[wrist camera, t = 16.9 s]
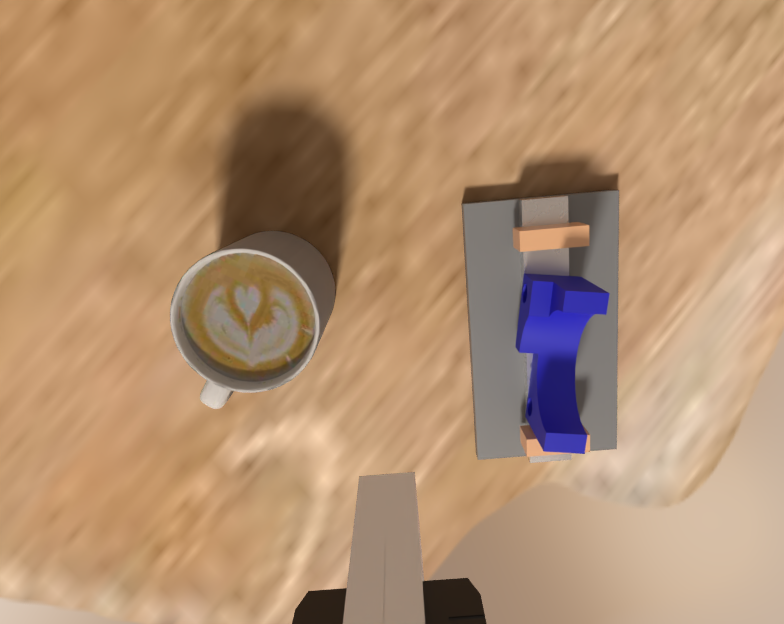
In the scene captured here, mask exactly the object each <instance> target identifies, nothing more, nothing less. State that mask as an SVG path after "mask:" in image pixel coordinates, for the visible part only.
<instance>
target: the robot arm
mask: <svg viewBox="0 0 784 624" xmlns="http://www.w3.org/2000/svg"><path fill="white" fill-rule="evenodd" d="M292 624H486V619H485V614H484V610H483V604H482V600H481V595H480V593H479V592H478V591H477V589H476V588H475V587H474V586H473V585H472V583H471V582H470V580H469V579H468V578H460V579H446V580H433V581H424V576H423V562H422V550H421V539H420V528H419V516H418V505H417V494H416V482H415V472H408V473H395V474H382V475H370V476H359V484H358V493H357V502H356V511H355V520H354V528H353V537H352V546H351V555H350V564H349V573H348V582H347V588H345V589H331V590H318V591H308V593H307V594H306V595H305V597H304V598H303V600H302V601H301V602H300V604H299V605H298V607H297V608H296V609H295V613H294V618H293V622H292Z"/></svg>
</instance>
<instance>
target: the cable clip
mask: <svg viewBox="0 0 784 624" xmlns="http://www.w3.org/2000/svg"><path fill="white" fill-rule="evenodd" d="M609 294H610V293H608V292H607V291H605V290H603V289H602V288H600V287H598V286H596V285H595V284H593V283H591V282H590V281H588V280H586V279H584V278H583V277H578V276H560V275H543V274H526V273H524V277H523V285H522V294H521V302H520V311H519V319H518V328H517V336H516V345H515V347H516V349H517V350H518V352H519V353H533V359H532V367H531V375H530V383H529V391H528V398H527V406H526V414H525V417H526V419H527V421H528V423H529V425H530V427H531V428H532V430H533V432H534V434H535V436H536V438H537V440H538V442H539V444H540V446H541V447H542V449H543V451H544V452H561V453H580V454H585V448H586V442H587V433H586V432H585V430H584V428H583V425H582V423H581V420H580V416H579V413H578V408H577V402H576V392H575V367H576V358H577V351H578V346H579V342H580V338H581V335H582V332H583V330H584V328H585V326H586V324H587V322H588V321H589V319H590V318H591V317H592V316H593V315H595V314H603V315H606V314H607V307H608V301H609Z"/></svg>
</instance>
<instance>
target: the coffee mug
mask: <svg viewBox="0 0 784 624" xmlns="http://www.w3.org/2000/svg"><path fill="white" fill-rule="evenodd" d="M334 302H335V283H334V278H333V275H332V272H331V269H330V267H329V265H328V263H327V261H326V260H325V259H324V257H323V256H322V255H321V253H320V252H319V251H318V250H317V249H316V248H315V247H314V246H312V245H311V244H310V243H309V242H307V241H306V240H304V239H302V238H300V237H298V236H296V235H293V234H290V233H286V232H281V231H264V232H259V233H255V234H252V235H249V236H247V237H245V238H243V239H241V240H239V241H236V242H234V243H232V244H230V245H228V246H226V247H224V248H222V249H219V250H217V251H215V252H213V253H211V254H209V255H207V256H205V257H204V258H202V259H200V260H199V261H198V262H196V263H195V264H194V265H193V266H192V267H190V268H189V270H188V271H187V272H186V273H185V274H184V275H183V277H182V278H181V280H180V282H179V283H178V285H177V287H176V289H175V292H174V295H173V298H172V302H171V309H170V323H171V330H172V334H173V337H174V340H175V343H176V345H177V348H178V349H179V351H180V353H181V354H182V356H183V358H184V359H185V361H186V362H187V363H188V364H189V366H190V367H191V368H193V369H194V370H195V371H196V372H197V373H198V374H199V375H200V376H202V377H203V378H205V379H206V380H207V381H206V383H205V385H204V387H203V389H202V391H201V394H200V400H201V401H202V402H203V403H204V404H206V405H207V406H209V407H211V408H214V409H219V408H221V407H222V406H223V405H224V404H225V403H226V402H227V401H228V399H229V398H230V396H231V395H232V393H233V392H234V391H238V392H262V391H267V390H271V389H274V388H277V387H279V386H282V385H284V384H285V383H287V382H289V381H291V380H292V379H293V378H294V377H296V376H297V375H298V374H299V373H300V372H301V371H302V370H303V369H304V368H305V367H306V365H307V364H308V363H309V361H310V360H311V358H312V356H313V354H314V353H315V350H316V348H317V346H318V343H319V341H320V339H321V336H322V334H323V332H324V329H325V327H326V325H327V322H328V320H329V318H330V315H331V313H332V310H333V307H334Z"/></svg>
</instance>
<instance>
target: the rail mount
mask: <svg viewBox="0 0 784 624" xmlns="http://www.w3.org/2000/svg"><path fill="white" fill-rule="evenodd" d="M462 219H463V236H464V253H465V270H466V288H467V305H468V322H469V340H470V357H471V374H472V391H473V409H474V426H475V443H476V455H477V458H478V460H481V459H494V458H507V457H520V456H527V457H528V459H529V462H530V463H535V462H548V461H561V460H571V453H561V452H544V451H543V449H542V447H541V446H540V444H539V442H538V440H537V438H536V436H535V434H534V432H533V430H532V428H531V427H530V425H529V423H528V421H527V419H526V417H525V414H526V406H527V398H528V391H529V383H530V375H531V367H532V359H533V353H519V352H518V350H517V349H516V347H515V345H516V336H517V328H518V319H519V311H520V302H521V294H522V285H523V277H524V273H526V274H543V275H560V276H578V277H583V278H584V279H586V280H588V281H590V282H591V283H593V284H595V285H596V286H598V287H600V288H602V289H603V290H605V291H607V292H608V293H610V294H609V301H608V307H607V314H606V315H603V314H595V315H593V316H592V317H591V318H590V319H589V321H588V322H587V324H586V326H585V328H584V330H583V332H582V335H581V338H580V342H579V346H578V351H577V358H576V367H575V392H576V402H577V408H578V413H579V416H580V420H581V423H582V425H583V428H584V430H585V432H586V433H587V442H586V448H585V452H590V451H596V450H609V449H617V342H618V233H619V190H605V191H594V192H583V193H572V194H561V195H550V196H538V197H527V198H516V199H505V200H494V201H483V202H472V203H462Z"/></svg>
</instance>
